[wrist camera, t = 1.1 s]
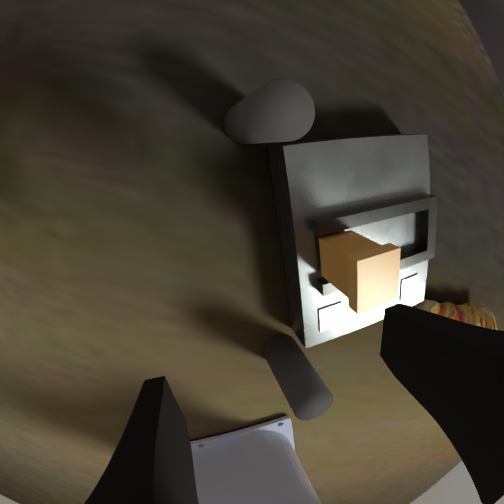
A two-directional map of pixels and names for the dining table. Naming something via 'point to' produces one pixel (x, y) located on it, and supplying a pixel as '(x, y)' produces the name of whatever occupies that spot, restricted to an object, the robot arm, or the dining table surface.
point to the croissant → (461, 313)
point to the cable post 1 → (271, 114)
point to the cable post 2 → (297, 378)
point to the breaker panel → (351, 220)
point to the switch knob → (361, 269)
